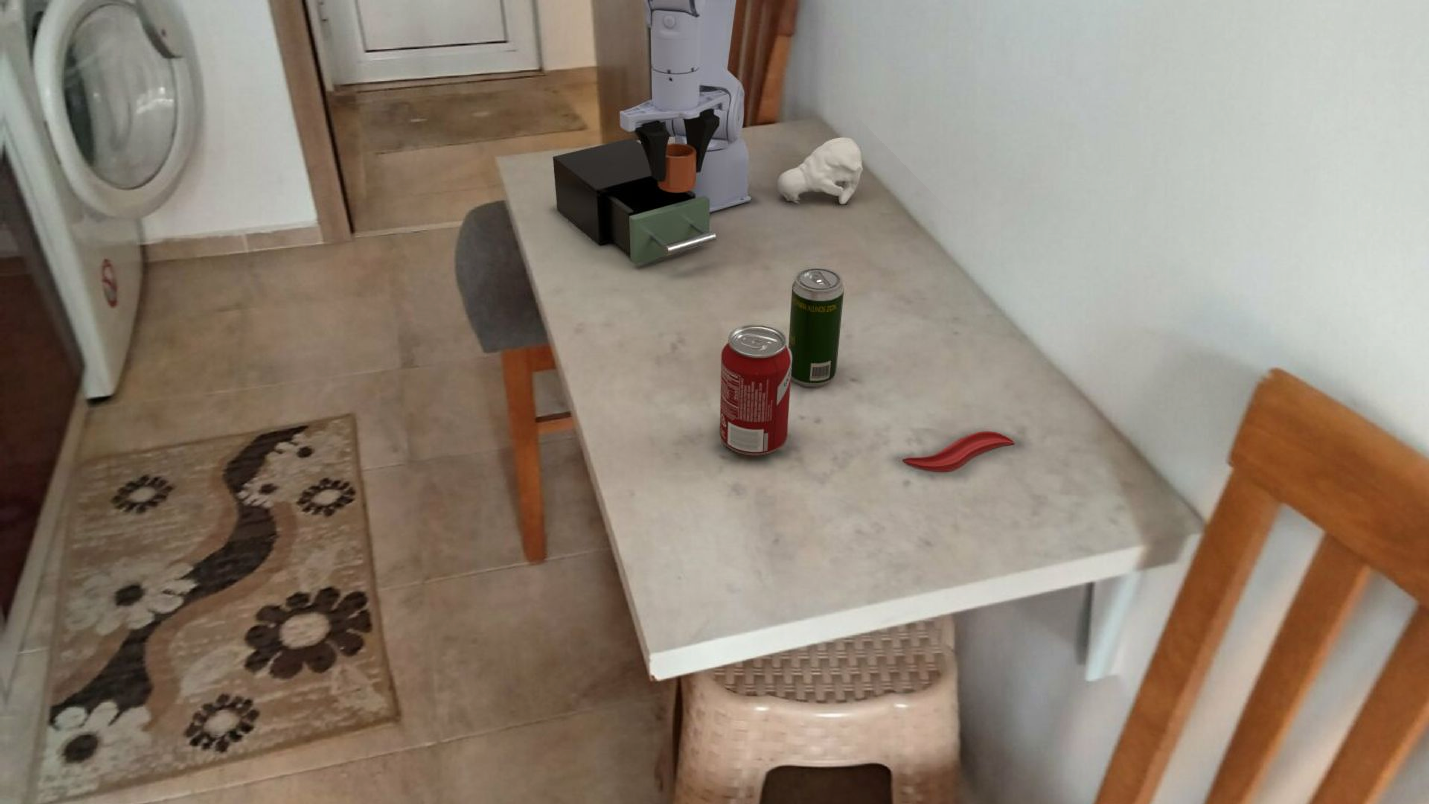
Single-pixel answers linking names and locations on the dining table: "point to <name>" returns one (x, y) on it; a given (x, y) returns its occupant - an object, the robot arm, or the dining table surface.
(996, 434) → the cayenne pepper
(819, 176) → the white lumpy figure
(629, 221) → the green drawer
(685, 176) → the cup
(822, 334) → the beer can
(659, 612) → the dining table surface
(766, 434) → the soda can
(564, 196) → the drawer cabinet
